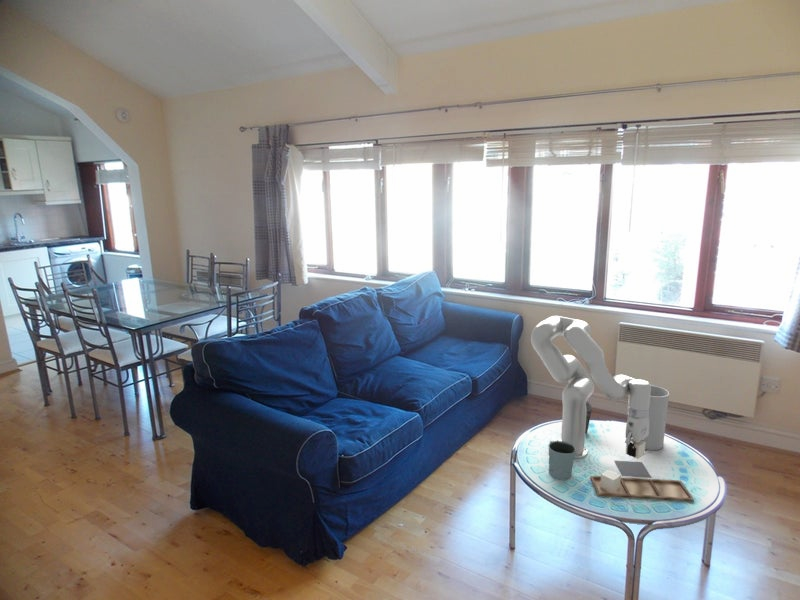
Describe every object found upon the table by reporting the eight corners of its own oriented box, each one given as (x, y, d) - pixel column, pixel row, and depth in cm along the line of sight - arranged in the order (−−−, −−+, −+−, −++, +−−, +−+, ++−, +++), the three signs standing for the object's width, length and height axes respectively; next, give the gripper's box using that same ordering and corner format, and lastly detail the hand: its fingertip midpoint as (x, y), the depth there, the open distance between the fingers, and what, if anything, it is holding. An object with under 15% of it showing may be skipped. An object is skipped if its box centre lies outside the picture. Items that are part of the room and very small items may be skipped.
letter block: (644, 454, 198) (645, 441, 197) (637, 458, 195) (638, 445, 194) (632, 449, 202) (633, 437, 201) (625, 453, 199) (626, 441, 198)
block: (619, 488, 188) (620, 475, 187) (612, 493, 185) (613, 480, 184) (607, 482, 192) (608, 469, 191) (600, 487, 189) (601, 474, 188)
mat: (621, 476, 196) (622, 475, 196) (613, 461, 207) (614, 460, 206) (651, 478, 195) (651, 477, 194) (641, 462, 205) (642, 462, 205)
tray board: (597, 497, 184) (598, 493, 184) (590, 478, 195) (590, 475, 195) (693, 502, 180) (694, 499, 179) (680, 483, 191) (680, 480, 190)
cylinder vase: (646, 452, 213) (651, 398, 207) (625, 438, 224) (630, 387, 218) (669, 448, 216) (676, 394, 210) (648, 434, 228) (653, 383, 222)
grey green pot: (541, 471, 201) (543, 444, 198) (559, 464, 205) (561, 438, 203) (561, 484, 192) (562, 456, 189) (579, 476, 197) (581, 449, 194)
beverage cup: (585, 437, 226) (588, 396, 222) (570, 431, 232) (573, 391, 227) (593, 432, 231) (596, 391, 226) (578, 426, 236) (581, 387, 232)
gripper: (636, 421, 187) (633, 464, 191) (658, 407, 197) (654, 449, 201) (617, 414, 192) (614, 456, 196) (639, 401, 202) (636, 442, 206)
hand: (635, 452), depth 199 cm, fingers closed on letter block, 5 cm apart
